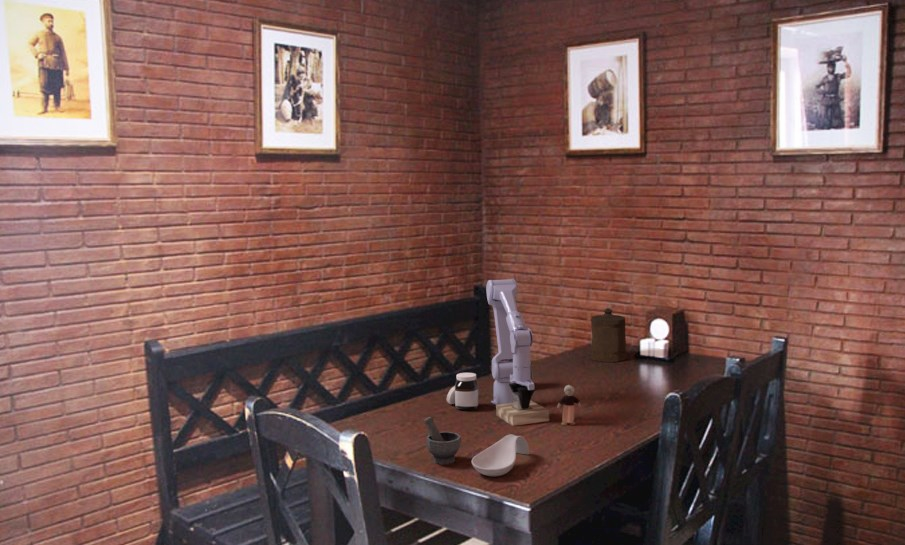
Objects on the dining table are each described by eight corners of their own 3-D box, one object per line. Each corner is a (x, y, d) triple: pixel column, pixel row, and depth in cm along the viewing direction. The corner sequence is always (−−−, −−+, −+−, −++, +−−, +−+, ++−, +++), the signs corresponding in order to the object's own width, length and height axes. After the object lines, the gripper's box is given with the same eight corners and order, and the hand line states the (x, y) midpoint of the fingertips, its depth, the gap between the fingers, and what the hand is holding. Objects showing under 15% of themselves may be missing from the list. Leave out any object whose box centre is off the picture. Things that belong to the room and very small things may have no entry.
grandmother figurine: (560, 426, 256) (560, 387, 254) (556, 423, 259) (555, 384, 258) (583, 424, 258) (583, 385, 256) (578, 420, 261) (577, 382, 260)
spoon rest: (503, 484, 209) (503, 457, 208) (463, 477, 215) (463, 451, 214) (540, 456, 229) (540, 432, 228) (503, 450, 235) (503, 426, 234)
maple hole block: (496, 415, 270) (496, 405, 269) (531, 410, 274) (531, 400, 274) (512, 425, 257) (512, 415, 257) (549, 420, 262) (549, 410, 262)
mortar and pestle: (467, 458, 228) (466, 417, 227) (449, 468, 220) (448, 426, 219) (434, 452, 234) (433, 411, 233) (416, 461, 226) (414, 420, 225)
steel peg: (513, 416, 267) (512, 392, 266) (524, 414, 268) (523, 390, 267) (518, 419, 263) (517, 395, 262) (529, 417, 264) (528, 393, 263)
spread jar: (475, 412, 274) (474, 378, 273) (442, 411, 276) (442, 377, 275) (481, 402, 286) (480, 370, 284) (450, 401, 288) (449, 369, 286)
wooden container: (606, 353, 361) (605, 304, 358) (632, 358, 349) (632, 308, 347) (583, 358, 351) (583, 308, 349) (610, 364, 340) (610, 312, 338)
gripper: (501, 362, 269) (502, 402, 271) (520, 371, 256) (520, 413, 257) (520, 360, 272) (521, 399, 273) (540, 369, 258) (540, 410, 260)
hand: (522, 406), depth 265 cm, fingers open, 4 cm apart
